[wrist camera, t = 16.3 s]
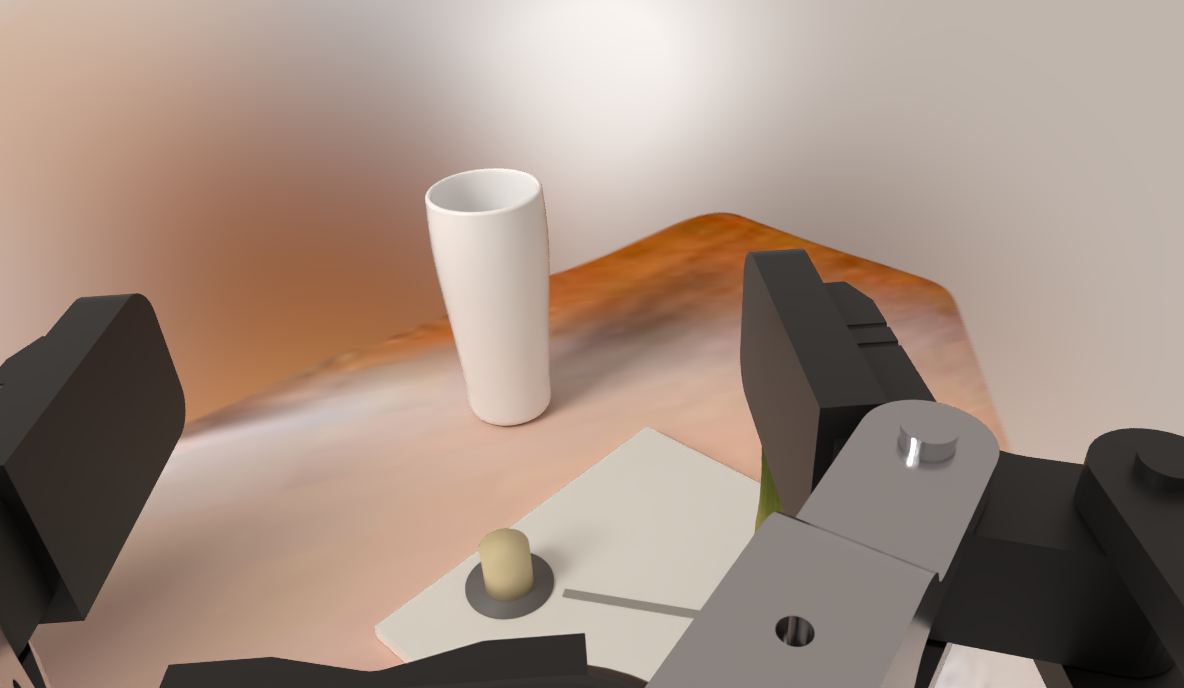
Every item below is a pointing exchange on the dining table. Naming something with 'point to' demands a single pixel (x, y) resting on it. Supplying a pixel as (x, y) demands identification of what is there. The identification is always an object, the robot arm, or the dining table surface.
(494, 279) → the drinking glass
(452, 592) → the gauge board
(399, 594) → the dining table surface
